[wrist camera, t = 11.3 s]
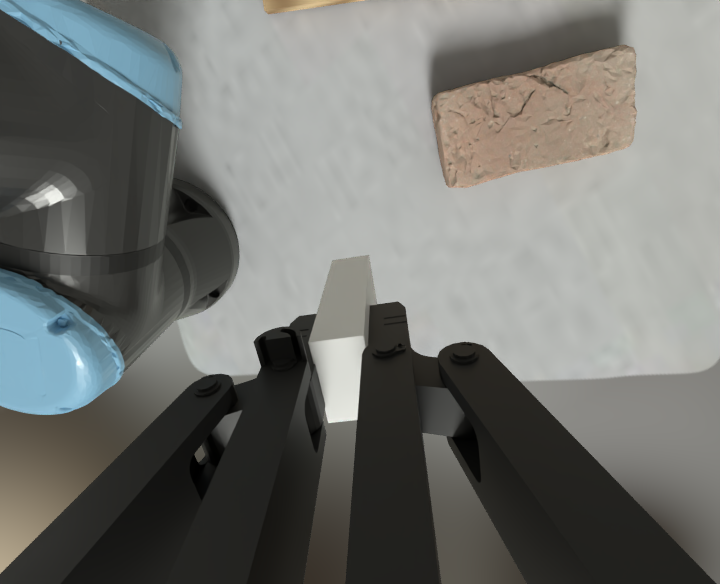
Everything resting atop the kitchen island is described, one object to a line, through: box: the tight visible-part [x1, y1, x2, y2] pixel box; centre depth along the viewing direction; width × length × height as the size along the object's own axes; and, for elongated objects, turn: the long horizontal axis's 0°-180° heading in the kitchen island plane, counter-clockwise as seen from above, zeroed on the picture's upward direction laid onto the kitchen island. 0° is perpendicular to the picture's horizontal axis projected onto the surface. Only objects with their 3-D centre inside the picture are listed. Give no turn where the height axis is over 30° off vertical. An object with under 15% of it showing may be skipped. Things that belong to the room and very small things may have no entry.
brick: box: [431, 45, 637, 188], centre depth 38 cm, size 17×8×5 cm, turn 104°
